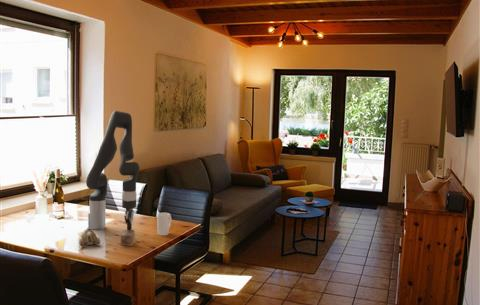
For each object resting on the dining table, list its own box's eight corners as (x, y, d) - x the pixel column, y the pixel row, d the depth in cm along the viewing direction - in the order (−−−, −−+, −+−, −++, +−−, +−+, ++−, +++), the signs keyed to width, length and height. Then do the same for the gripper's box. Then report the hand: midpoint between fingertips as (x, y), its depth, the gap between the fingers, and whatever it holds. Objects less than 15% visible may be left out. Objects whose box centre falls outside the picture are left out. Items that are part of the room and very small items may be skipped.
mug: (162, 236, 260) (163, 216, 258) (154, 234, 264) (154, 214, 262) (175, 232, 268) (175, 213, 267) (167, 230, 272) (167, 211, 270)
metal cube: (121, 244, 242) (120, 235, 240) (123, 238, 248) (123, 229, 246) (132, 245, 242) (131, 235, 240) (134, 239, 248) (134, 229, 246)
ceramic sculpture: (98, 223, 250) (101, 232, 236) (98, 238, 251) (101, 248, 237) (77, 225, 245) (79, 234, 232) (77, 240, 247) (79, 250, 233)
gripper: (125, 195, 251) (125, 226, 253) (119, 201, 238) (119, 233, 240) (138, 196, 251) (138, 226, 253) (133, 201, 238) (133, 233, 240)
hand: (129, 229), depth 247 cm, fingers closed
